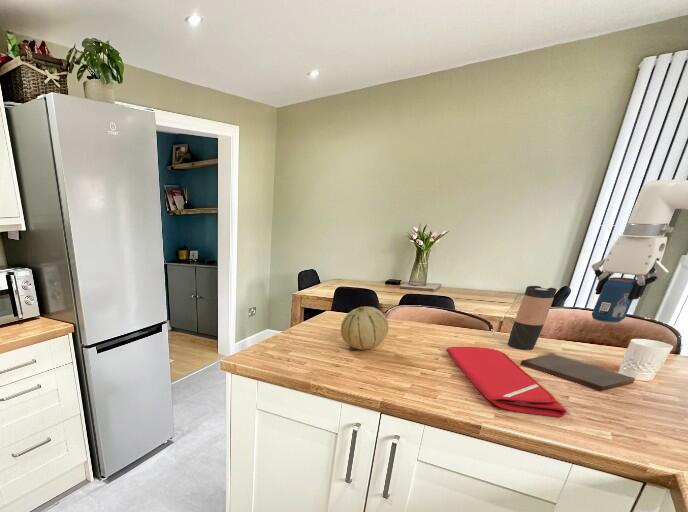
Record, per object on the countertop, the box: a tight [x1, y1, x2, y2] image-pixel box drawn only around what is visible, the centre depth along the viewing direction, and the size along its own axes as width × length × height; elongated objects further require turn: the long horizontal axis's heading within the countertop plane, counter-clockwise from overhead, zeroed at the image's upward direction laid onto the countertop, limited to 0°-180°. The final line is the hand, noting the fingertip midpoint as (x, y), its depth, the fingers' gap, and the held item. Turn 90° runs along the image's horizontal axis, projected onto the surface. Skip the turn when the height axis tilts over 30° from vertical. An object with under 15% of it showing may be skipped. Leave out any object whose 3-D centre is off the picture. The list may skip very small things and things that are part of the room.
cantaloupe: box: [340, 306, 390, 351], centre depth 135 cm, size 15×15×15 cm
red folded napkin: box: [445, 346, 567, 418], centre depth 112 cm, size 16×41×4 cm, turn 161°
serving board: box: [520, 353, 636, 392], centre depth 115 cm, size 20×14×2 cm
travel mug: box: [507, 285, 558, 351], centre depth 132 cm, size 8×8×20 cm
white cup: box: [617, 338, 674, 382], centre depth 111 cm, size 8×8×10 cm
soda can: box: [591, 276, 638, 324], centre depth 115 cm, size 7×7×12 cm
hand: (616, 296), depth 115 cm, fingers closed on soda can, 7 cm apart
